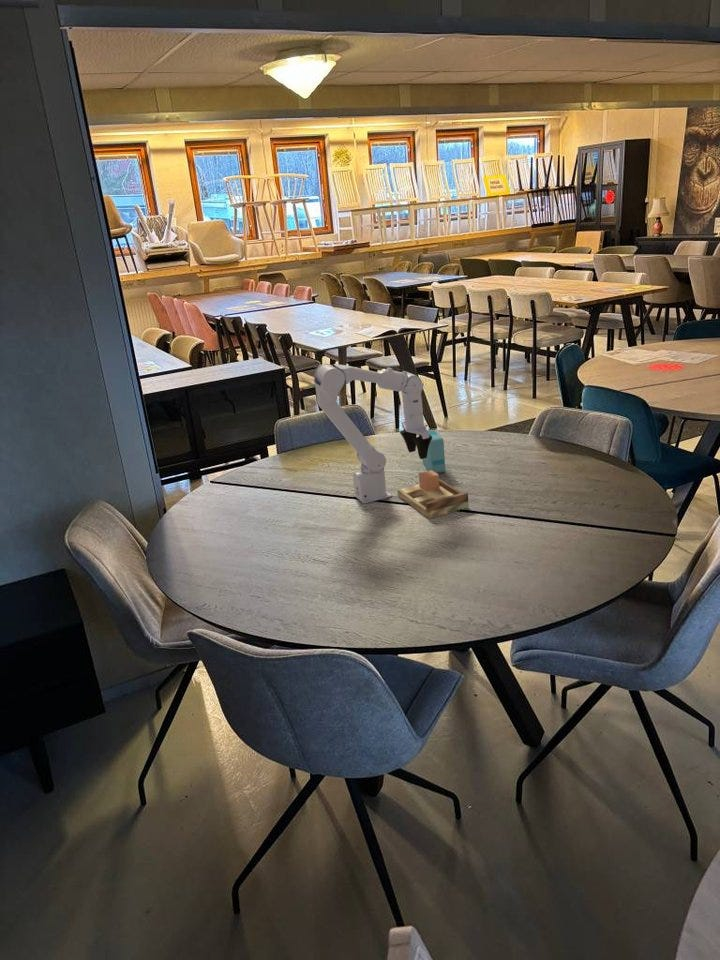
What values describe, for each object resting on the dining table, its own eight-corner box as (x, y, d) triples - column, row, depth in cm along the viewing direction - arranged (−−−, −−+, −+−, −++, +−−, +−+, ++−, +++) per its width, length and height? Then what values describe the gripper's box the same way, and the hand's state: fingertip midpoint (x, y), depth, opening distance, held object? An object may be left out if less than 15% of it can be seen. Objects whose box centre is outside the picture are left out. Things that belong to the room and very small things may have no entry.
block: (426, 491, 202) (425, 477, 201) (419, 487, 206) (418, 473, 205) (439, 488, 204) (438, 474, 202) (432, 483, 208) (431, 470, 206)
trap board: (428, 518, 189) (427, 504, 188) (397, 495, 207) (396, 482, 205) (468, 507, 193) (467, 493, 192) (435, 486, 211) (434, 472, 209)
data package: (445, 473, 220) (443, 438, 216) (432, 475, 220) (430, 440, 215) (435, 461, 231) (433, 428, 227) (422, 463, 231) (420, 430, 226)
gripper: (436, 415, 198) (440, 458, 203) (414, 405, 211) (418, 445, 216) (415, 420, 196) (419, 463, 201) (394, 410, 209) (398, 451, 214)
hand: (417, 454), depth 209 cm, fingers open, 7 cm apart
